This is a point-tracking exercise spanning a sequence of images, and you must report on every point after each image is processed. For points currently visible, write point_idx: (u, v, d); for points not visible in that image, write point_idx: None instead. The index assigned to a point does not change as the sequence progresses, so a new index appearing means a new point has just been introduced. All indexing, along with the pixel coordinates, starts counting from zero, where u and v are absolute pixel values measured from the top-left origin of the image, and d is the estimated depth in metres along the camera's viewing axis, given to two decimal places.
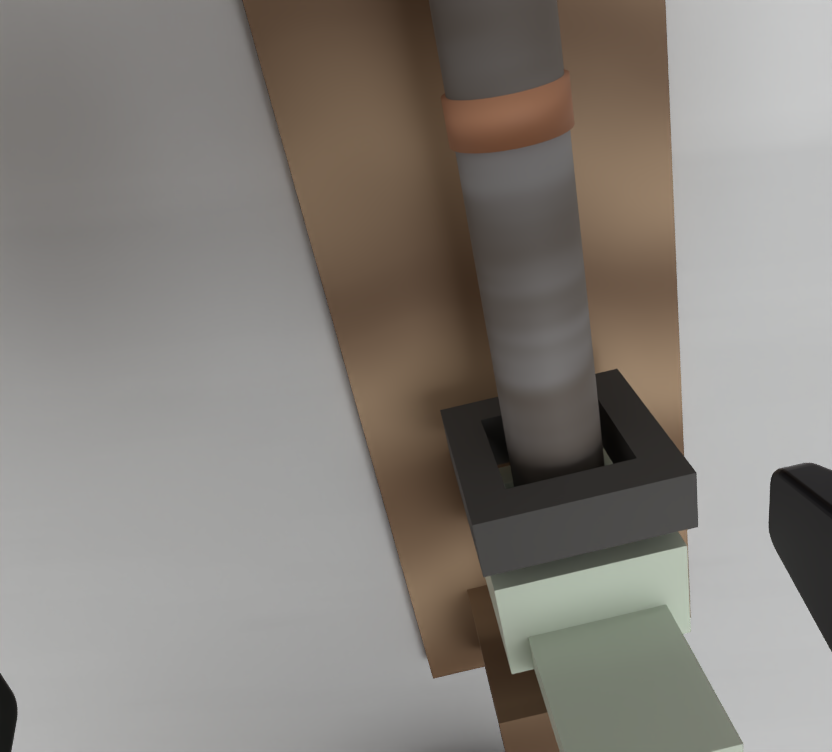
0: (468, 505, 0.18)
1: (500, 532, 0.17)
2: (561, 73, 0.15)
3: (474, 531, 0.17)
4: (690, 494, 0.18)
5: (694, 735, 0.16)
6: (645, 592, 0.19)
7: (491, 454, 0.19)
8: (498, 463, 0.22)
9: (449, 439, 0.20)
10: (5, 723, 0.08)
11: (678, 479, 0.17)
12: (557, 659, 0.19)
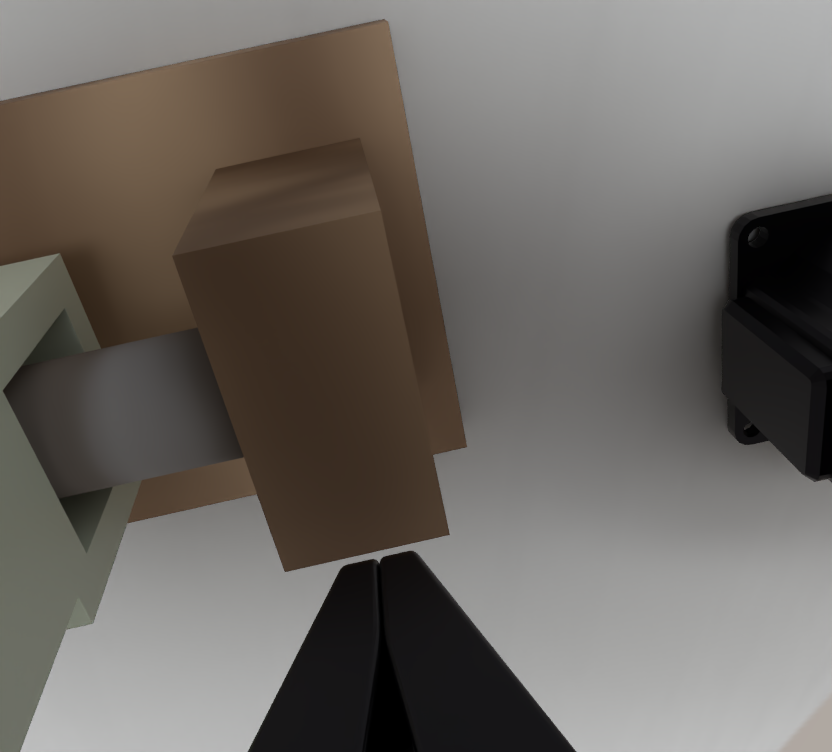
0: None
1: None
2: None
3: None
4: None
5: None
6: None
7: None
8: None
9: None
10: None
11: None
12: None
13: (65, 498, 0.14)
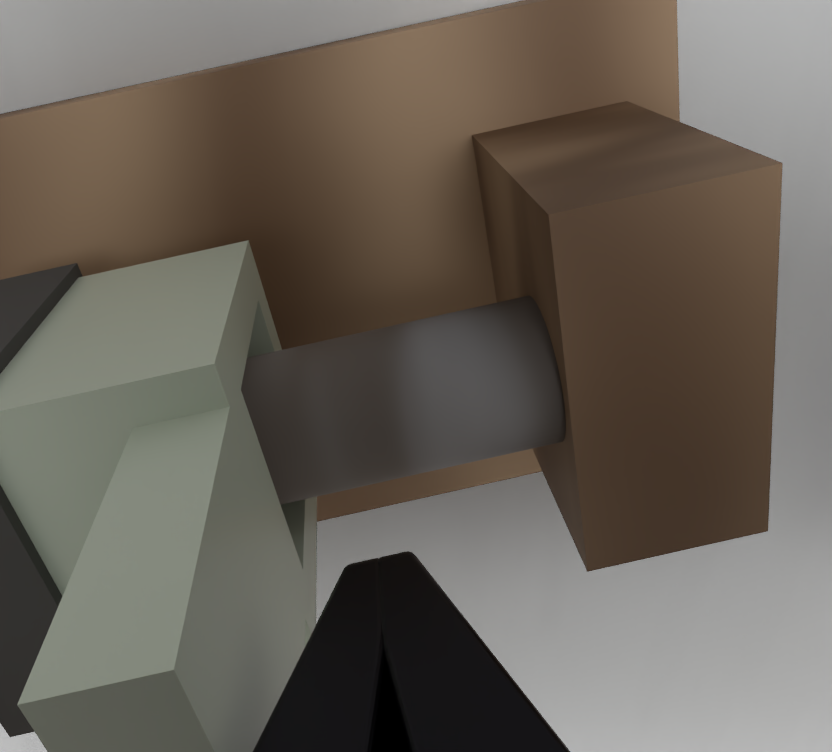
0: None
1: None
2: None
3: (23, 731, 0.11)
4: None
5: None
6: (102, 472, 0.10)
7: None
8: None
9: None
10: None
11: None
12: None
13: None
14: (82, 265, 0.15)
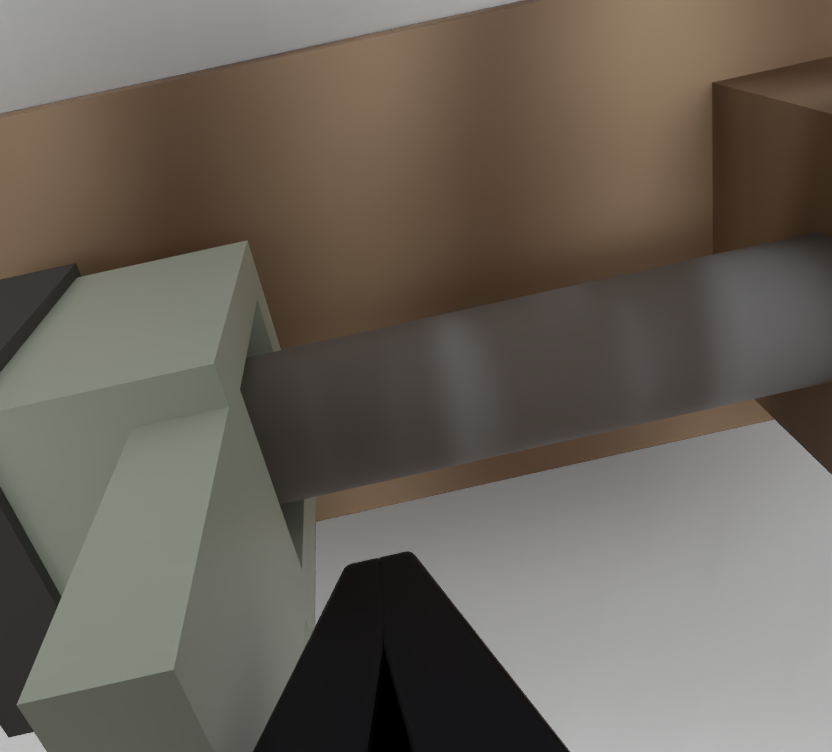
0: None
1: None
2: None
3: (22, 732, 0.11)
4: None
5: None
6: (101, 472, 0.09)
7: None
8: None
9: None
10: None
11: None
12: None
13: None
14: (319, 213, 0.15)
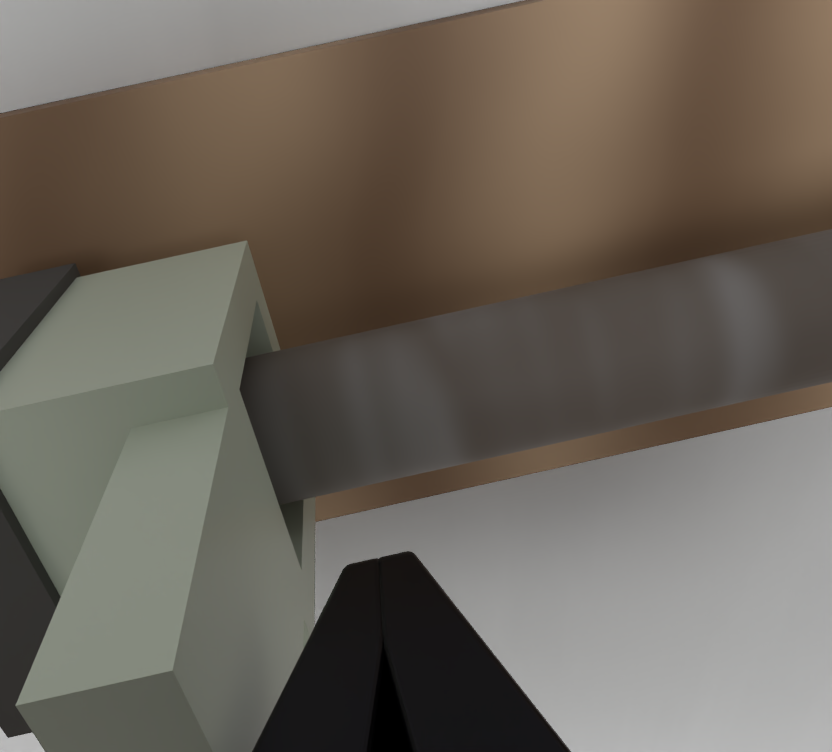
0: None
1: None
2: None
3: (21, 732, 0.11)
4: None
5: None
6: (100, 472, 0.09)
7: None
8: None
9: None
10: None
11: None
12: None
13: None
14: (532, 166, 0.15)
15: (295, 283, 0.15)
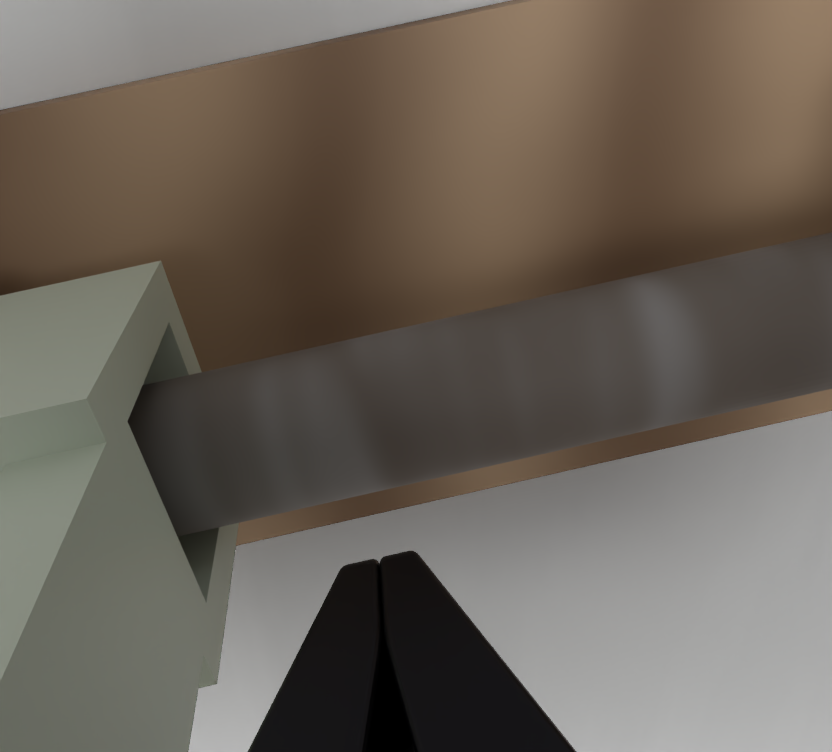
0: None
1: None
2: None
3: None
4: None
5: None
6: None
7: None
8: None
9: None
10: None
11: None
12: None
13: None
14: (469, 181, 0.14)
15: (229, 300, 0.15)
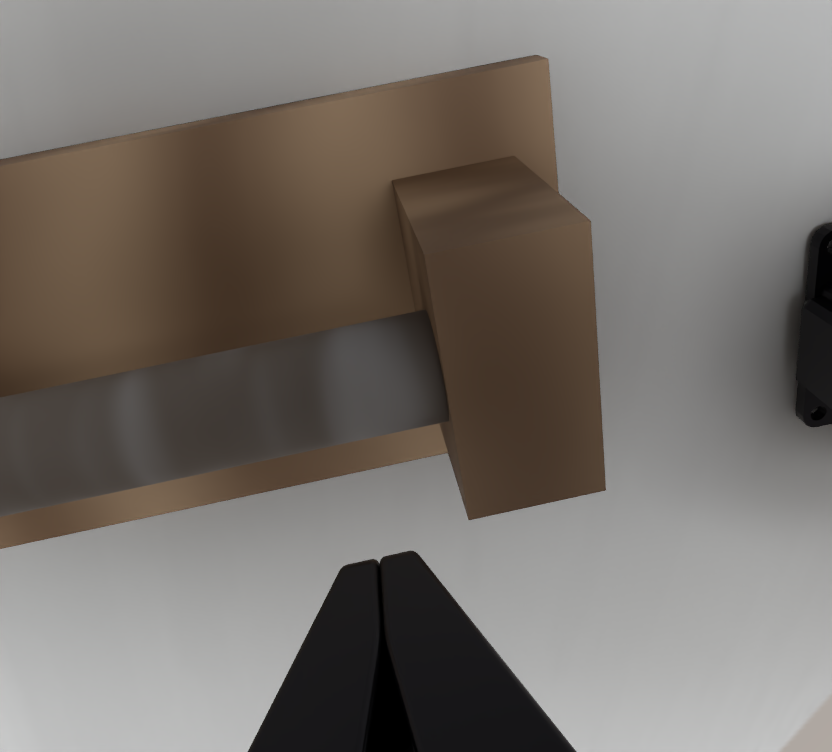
0: None
1: None
2: None
3: None
4: None
5: None
6: None
7: None
8: None
9: None
10: None
11: None
12: None
13: None
14: (78, 278, 0.18)
15: None
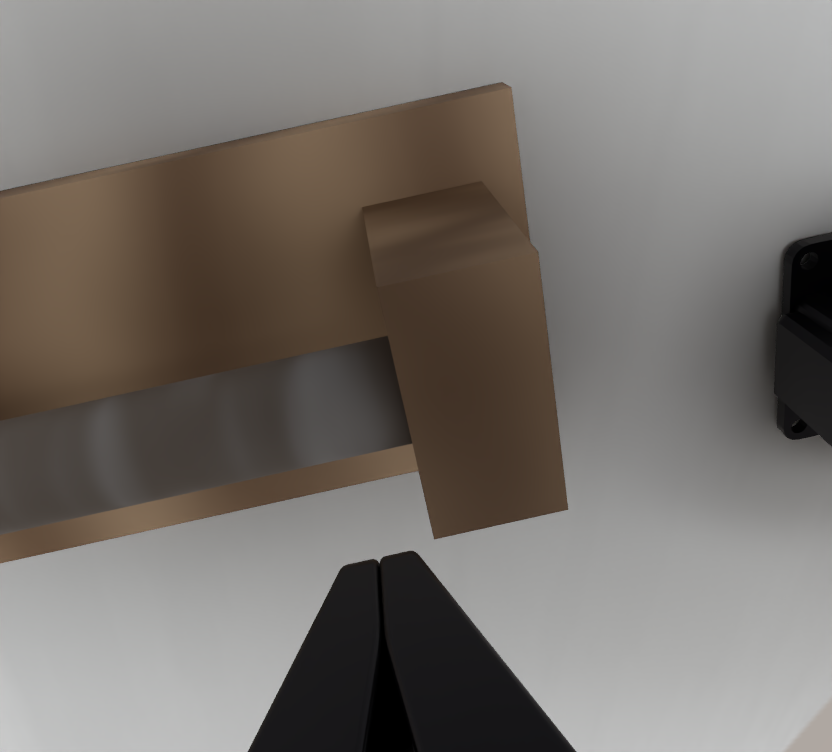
0: None
1: None
2: None
3: None
4: None
5: None
6: None
7: None
8: None
9: None
10: None
11: None
12: None
13: None
14: (62, 306, 0.19)
15: None
